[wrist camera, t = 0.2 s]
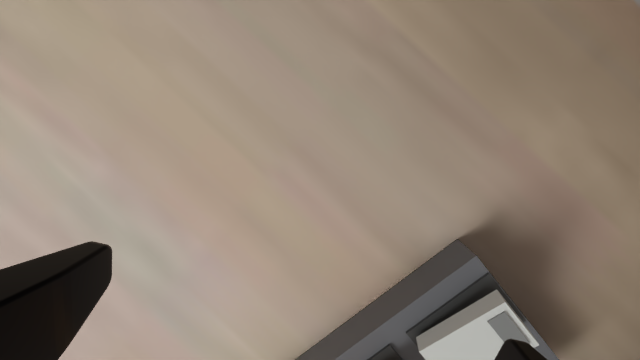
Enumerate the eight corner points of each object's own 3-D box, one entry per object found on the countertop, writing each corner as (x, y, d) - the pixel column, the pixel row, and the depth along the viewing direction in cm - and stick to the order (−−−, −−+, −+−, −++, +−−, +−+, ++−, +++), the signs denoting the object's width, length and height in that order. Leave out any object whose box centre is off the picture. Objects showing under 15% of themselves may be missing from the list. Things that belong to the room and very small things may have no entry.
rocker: (447, 374, 21) (452, 392, 20) (416, 337, 20) (419, 353, 19) (529, 330, 19) (540, 346, 18) (496, 289, 19) (505, 303, 18)
